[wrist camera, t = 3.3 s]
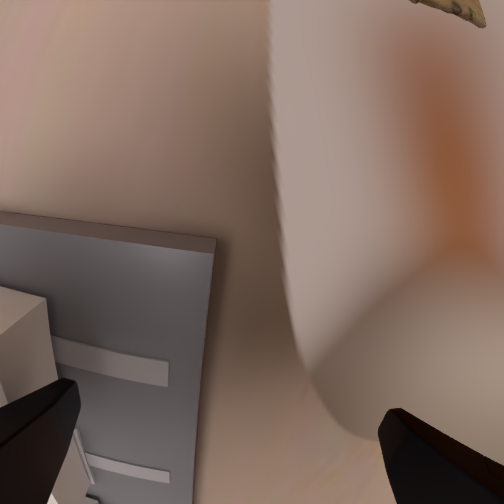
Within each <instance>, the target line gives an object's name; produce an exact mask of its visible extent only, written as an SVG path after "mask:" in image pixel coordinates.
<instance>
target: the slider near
mask: <svg viewBox="0 0 504 504" xmlns="http://www.w3.org/2000/svg"><path fill="white" fill-rule="evenodd" d="M56 380H58V375H57V370H56V365H55V360H54V354H53V349H52V342H51V336H50V329H49V321H48V312H47V302H46V298H43V297H39V296H35V295H31V294H27V293H23V292H20V291H16V290H12V289H8V288H5V287H1V286H0V407H2V406H4V405H6V404H8V403H11V402H13V401H15V400H17V399H19V398H21V397H23V396H25V395H27V394H29V393H31V392H34V391H36V390H38V389H40V388H42V387H44V386H46V385H48V384H50V383H52V382H54V381H56Z"/></svg>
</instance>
